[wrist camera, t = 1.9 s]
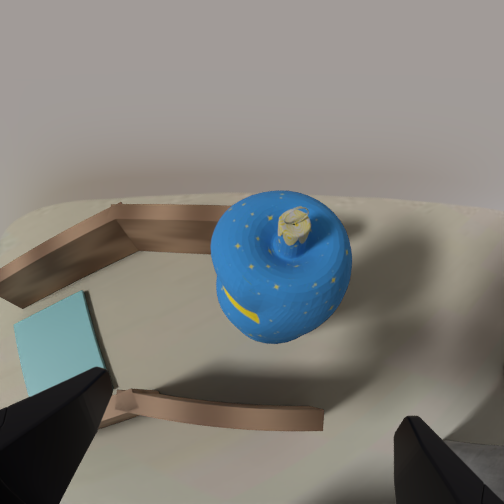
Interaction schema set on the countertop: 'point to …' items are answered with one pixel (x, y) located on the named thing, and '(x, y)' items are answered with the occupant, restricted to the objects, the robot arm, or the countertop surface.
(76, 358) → the pad
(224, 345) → the countertop surface
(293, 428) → the channel
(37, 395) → the robot arm
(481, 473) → the hip flask
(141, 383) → the countertop surface
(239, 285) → the ornament
